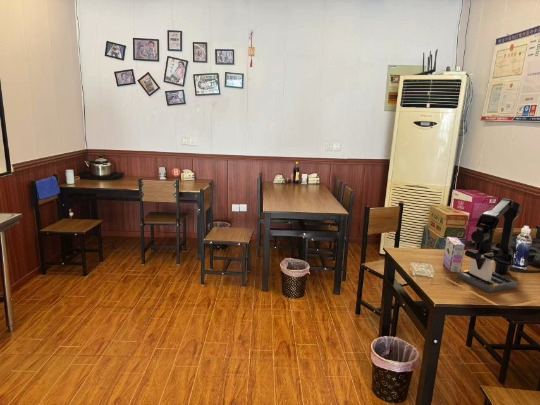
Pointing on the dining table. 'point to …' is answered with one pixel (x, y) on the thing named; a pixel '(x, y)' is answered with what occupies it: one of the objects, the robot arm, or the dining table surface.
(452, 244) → the candy box
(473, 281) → the rack
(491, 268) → the panel
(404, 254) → the dining table surface
